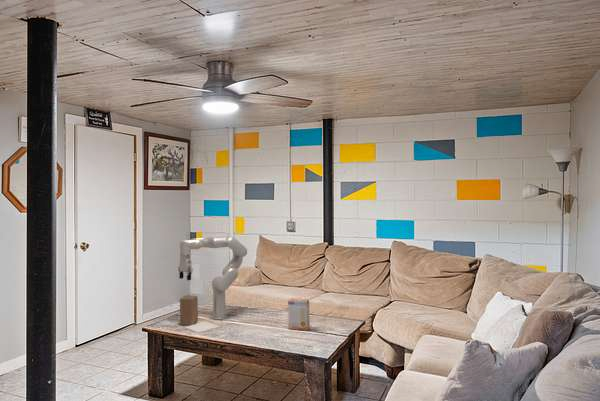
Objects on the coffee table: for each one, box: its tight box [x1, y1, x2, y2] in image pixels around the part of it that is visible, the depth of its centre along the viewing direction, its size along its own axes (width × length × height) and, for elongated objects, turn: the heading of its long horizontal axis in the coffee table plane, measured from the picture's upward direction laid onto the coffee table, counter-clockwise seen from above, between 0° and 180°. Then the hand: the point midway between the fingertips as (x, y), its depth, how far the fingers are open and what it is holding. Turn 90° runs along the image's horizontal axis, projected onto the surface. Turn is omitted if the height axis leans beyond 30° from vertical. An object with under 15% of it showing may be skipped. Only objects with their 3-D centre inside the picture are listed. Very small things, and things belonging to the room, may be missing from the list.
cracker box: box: [287, 298, 311, 332], centre depth 308 cm, size 14×6×21 cm, turn 71°
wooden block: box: [179, 295, 199, 326], centre depth 324 cm, size 10×10×20 cm
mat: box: [184, 321, 221, 334], centre depth 314 cm, size 18×18×1 cm
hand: (185, 279), depth 327 cm, fingers open, 9 cm apart
